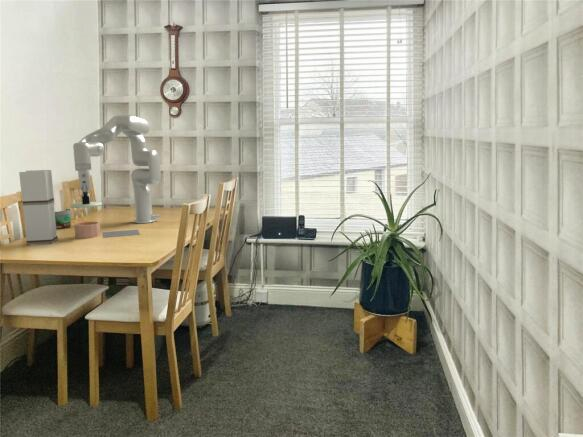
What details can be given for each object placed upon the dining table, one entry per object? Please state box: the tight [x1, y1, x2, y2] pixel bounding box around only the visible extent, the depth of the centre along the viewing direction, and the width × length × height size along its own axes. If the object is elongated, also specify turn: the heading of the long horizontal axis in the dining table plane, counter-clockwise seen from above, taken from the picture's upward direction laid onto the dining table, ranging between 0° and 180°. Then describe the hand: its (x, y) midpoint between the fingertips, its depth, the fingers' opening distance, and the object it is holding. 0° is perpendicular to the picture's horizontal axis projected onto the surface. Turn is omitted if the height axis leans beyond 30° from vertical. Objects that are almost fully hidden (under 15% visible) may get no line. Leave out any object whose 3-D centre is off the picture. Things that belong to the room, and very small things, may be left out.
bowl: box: [74, 221, 102, 239], centre depth 270 cm, size 12×12×7 cm
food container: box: [55, 208, 72, 230], centre depth 299 cm, size 12×6×10 cm, turn 168°
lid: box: [69, 193, 103, 209], centre depth 267 cm, size 15×15×6 cm
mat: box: [102, 229, 141, 239], centre depth 275 cm, size 18×16×1 cm
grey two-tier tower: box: [18, 169, 59, 246], centre depth 257 cm, size 11×11×35 cm
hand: (86, 203), depth 268 cm, fingers closed on lid, 4 cm apart
